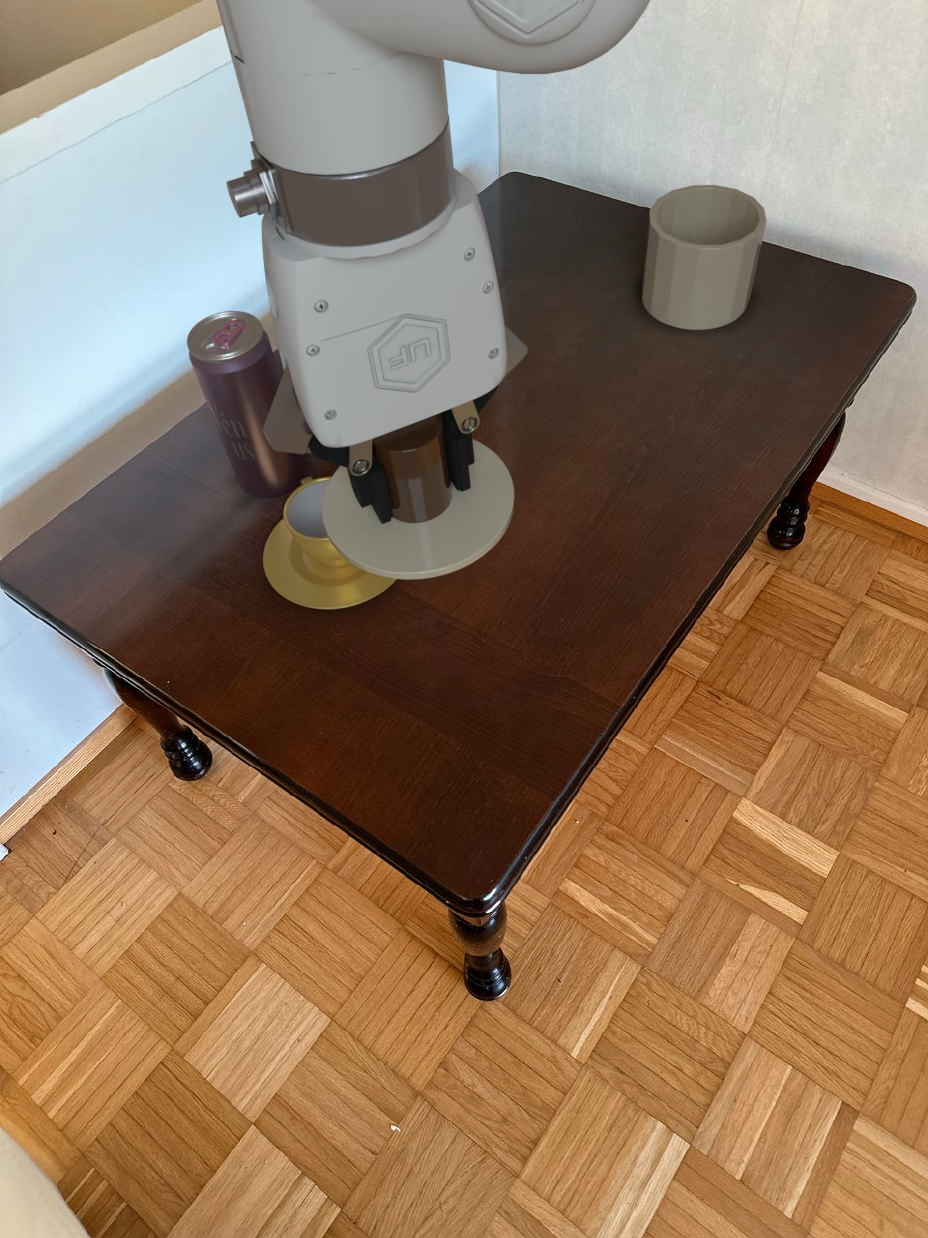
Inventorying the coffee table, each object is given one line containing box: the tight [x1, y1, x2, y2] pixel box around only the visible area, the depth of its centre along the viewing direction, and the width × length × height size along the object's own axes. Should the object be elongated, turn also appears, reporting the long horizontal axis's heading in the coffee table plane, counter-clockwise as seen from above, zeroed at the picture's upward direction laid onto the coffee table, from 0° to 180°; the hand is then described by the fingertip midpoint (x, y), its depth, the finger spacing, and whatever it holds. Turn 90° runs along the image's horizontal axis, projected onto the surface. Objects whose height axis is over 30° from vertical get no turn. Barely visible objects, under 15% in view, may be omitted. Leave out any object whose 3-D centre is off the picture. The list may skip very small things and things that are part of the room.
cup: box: [262, 476, 397, 610], centre depth 71 cm, size 12×12×5 cm
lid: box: [322, 413, 515, 581], centre depth 50 cm, size 11×11×7 cm
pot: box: [641, 184, 767, 331], centre depth 85 cm, size 10×10×8 cm
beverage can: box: [186, 310, 308, 502], centre depth 72 cm, size 6×6×15 cm
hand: (416, 488), depth 51 cm, fingers closed on lid, 4 cm apart
